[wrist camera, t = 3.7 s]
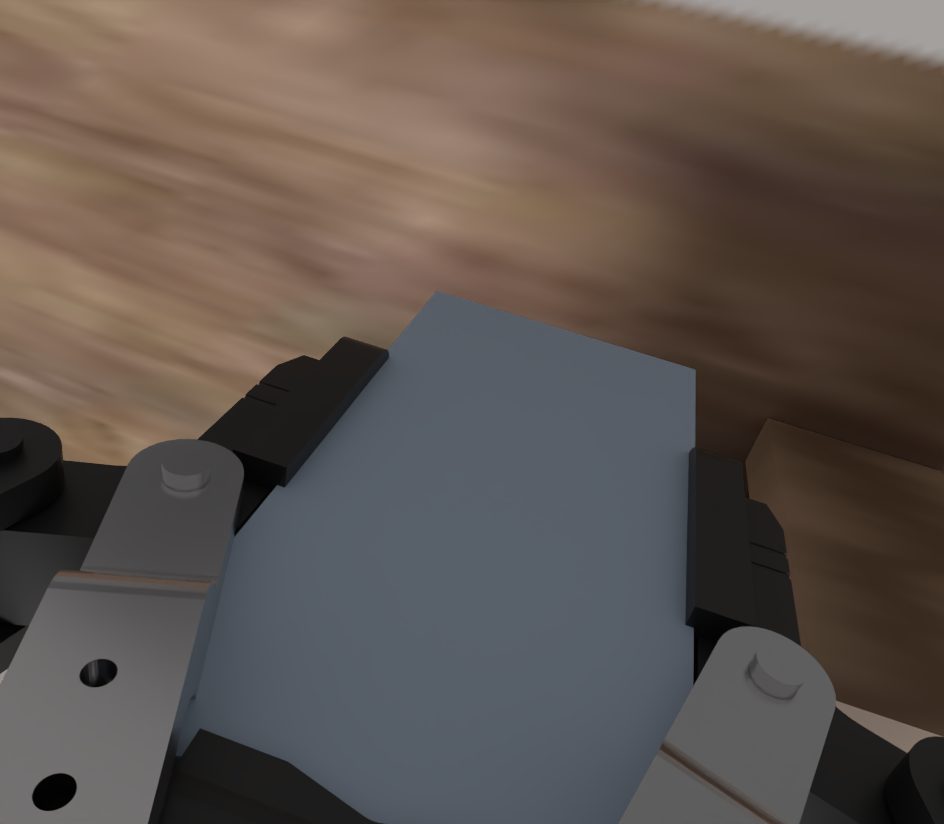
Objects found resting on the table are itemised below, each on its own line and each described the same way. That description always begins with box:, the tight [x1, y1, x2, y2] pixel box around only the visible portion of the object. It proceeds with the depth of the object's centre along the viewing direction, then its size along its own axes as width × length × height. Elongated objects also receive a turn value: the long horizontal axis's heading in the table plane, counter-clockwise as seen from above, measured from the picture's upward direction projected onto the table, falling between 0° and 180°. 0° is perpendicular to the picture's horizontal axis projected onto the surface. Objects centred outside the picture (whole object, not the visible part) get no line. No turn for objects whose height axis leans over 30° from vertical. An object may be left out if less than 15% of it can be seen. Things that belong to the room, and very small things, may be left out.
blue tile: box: [176, 291, 696, 824], centre depth 11 cm, size 5×2×10 cm, turn 78°
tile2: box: [745, 418, 944, 753], centre depth 18 cm, size 5×2×10 cm, turn 78°
